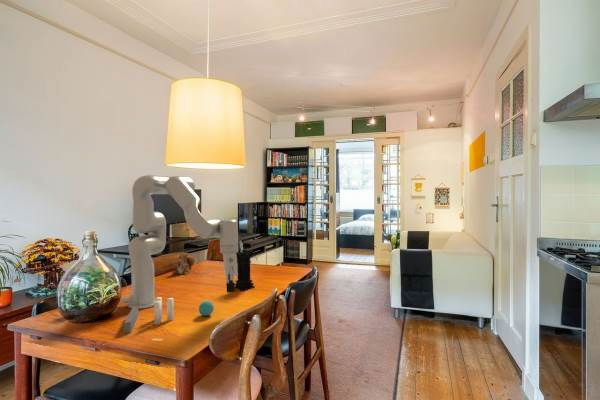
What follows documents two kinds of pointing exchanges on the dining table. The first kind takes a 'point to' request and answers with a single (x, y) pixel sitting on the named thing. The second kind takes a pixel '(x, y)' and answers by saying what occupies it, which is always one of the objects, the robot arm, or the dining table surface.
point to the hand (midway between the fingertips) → (230, 291)
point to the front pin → (170, 309)
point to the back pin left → (161, 303)
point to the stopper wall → (131, 320)
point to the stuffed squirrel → (184, 264)
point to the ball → (206, 308)
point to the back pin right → (157, 312)
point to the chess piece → (244, 271)
